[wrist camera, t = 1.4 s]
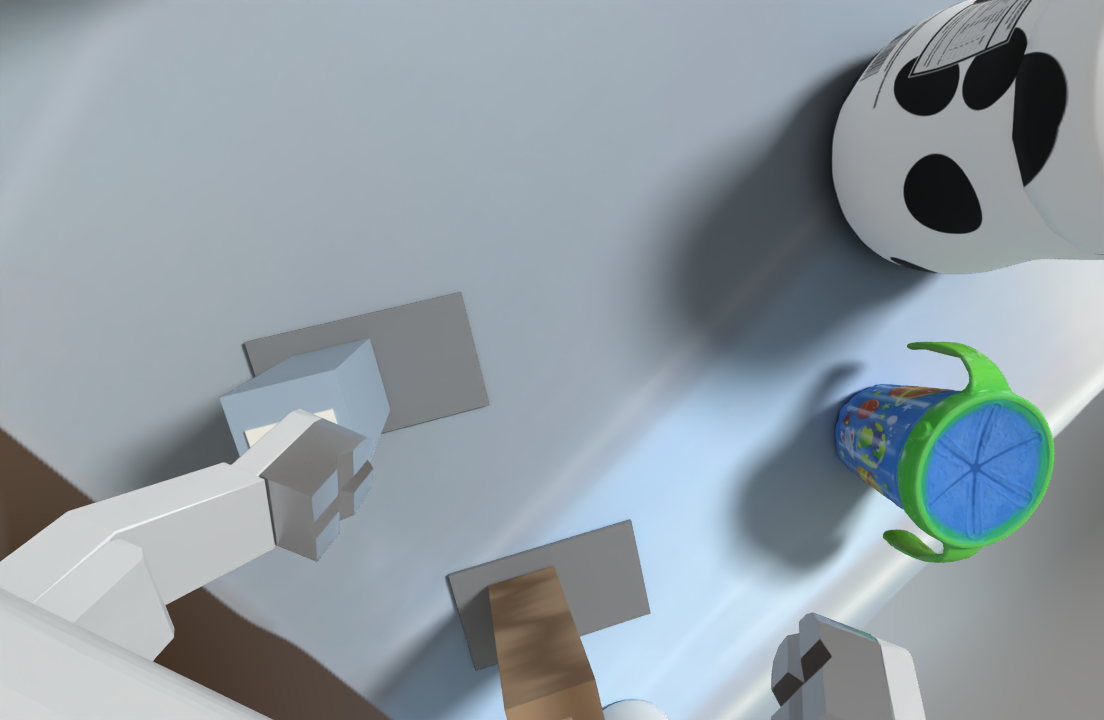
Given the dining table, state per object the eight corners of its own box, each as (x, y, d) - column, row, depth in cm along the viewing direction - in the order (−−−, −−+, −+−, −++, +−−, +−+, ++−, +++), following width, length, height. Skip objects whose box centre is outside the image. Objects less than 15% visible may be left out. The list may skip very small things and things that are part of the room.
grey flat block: (284, 457, 38) (283, 458, 38) (245, 342, 36) (244, 342, 36) (489, 403, 40) (489, 404, 40) (460, 291, 38) (461, 292, 38)
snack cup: (906, 522, 48) (1025, 588, 38) (795, 517, 46) (891, 585, 36) (947, 340, 46) (1085, 360, 36) (833, 325, 44) (946, 342, 34)
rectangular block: (315, 431, 38) (255, 506, 26) (291, 356, 37) (217, 398, 25) (390, 411, 38) (366, 475, 26) (369, 337, 37) (334, 370, 25)
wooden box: (504, 646, 42) (527, 792, 31) (488, 586, 41) (504, 712, 30) (568, 626, 43) (614, 760, 31) (553, 565, 42) (596, 681, 30)
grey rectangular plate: (475, 667, 43) (475, 670, 43) (448, 574, 41) (448, 576, 41) (649, 610, 45) (650, 613, 45) (630, 519, 43) (631, 521, 43)
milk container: (991, 277, 46) (1327, 283, 28) (797, 268, 43) (1041, 269, 25) (1027, 47, 43) (1421, -103, 26) (823, 19, 40) (1116, -174, 23)
